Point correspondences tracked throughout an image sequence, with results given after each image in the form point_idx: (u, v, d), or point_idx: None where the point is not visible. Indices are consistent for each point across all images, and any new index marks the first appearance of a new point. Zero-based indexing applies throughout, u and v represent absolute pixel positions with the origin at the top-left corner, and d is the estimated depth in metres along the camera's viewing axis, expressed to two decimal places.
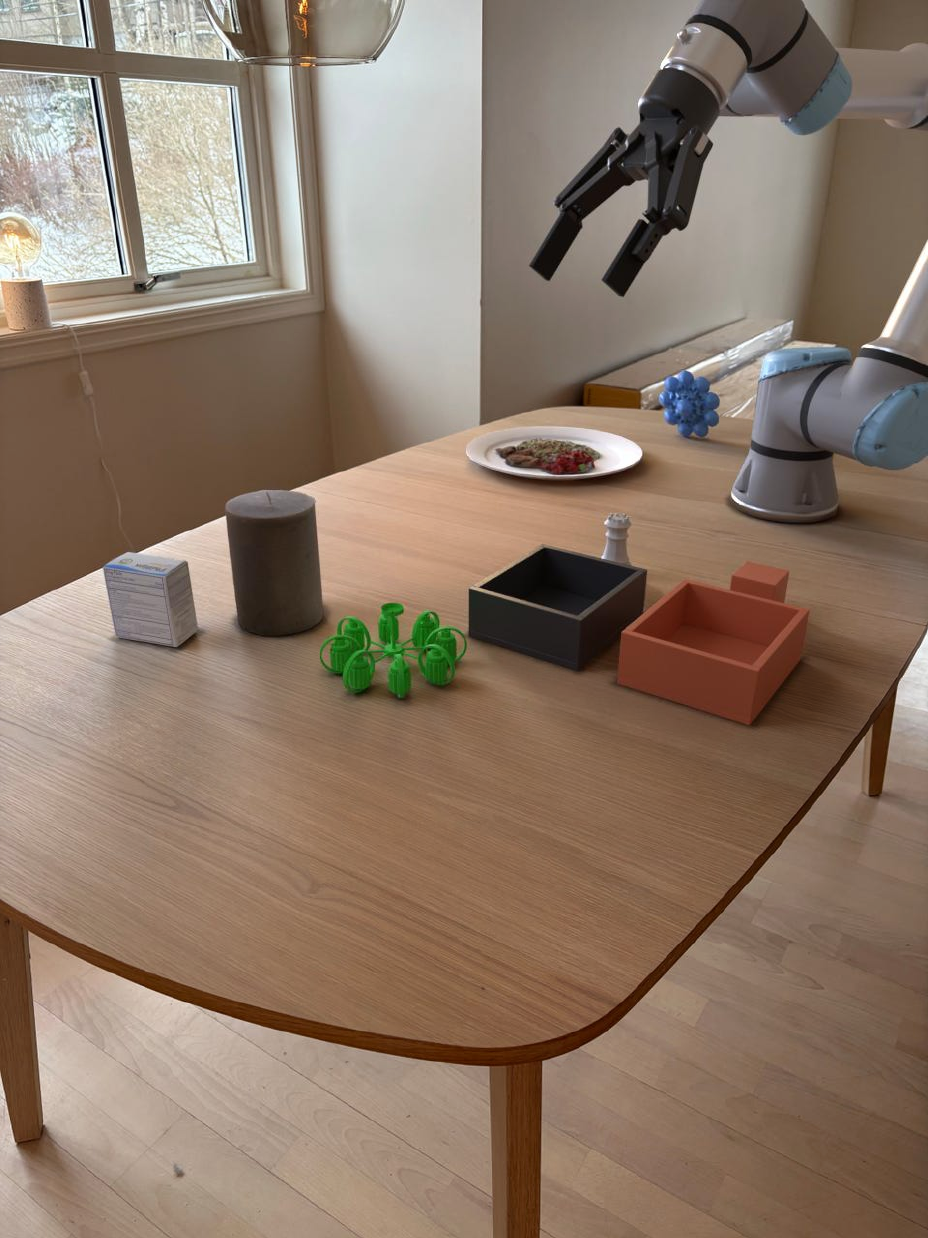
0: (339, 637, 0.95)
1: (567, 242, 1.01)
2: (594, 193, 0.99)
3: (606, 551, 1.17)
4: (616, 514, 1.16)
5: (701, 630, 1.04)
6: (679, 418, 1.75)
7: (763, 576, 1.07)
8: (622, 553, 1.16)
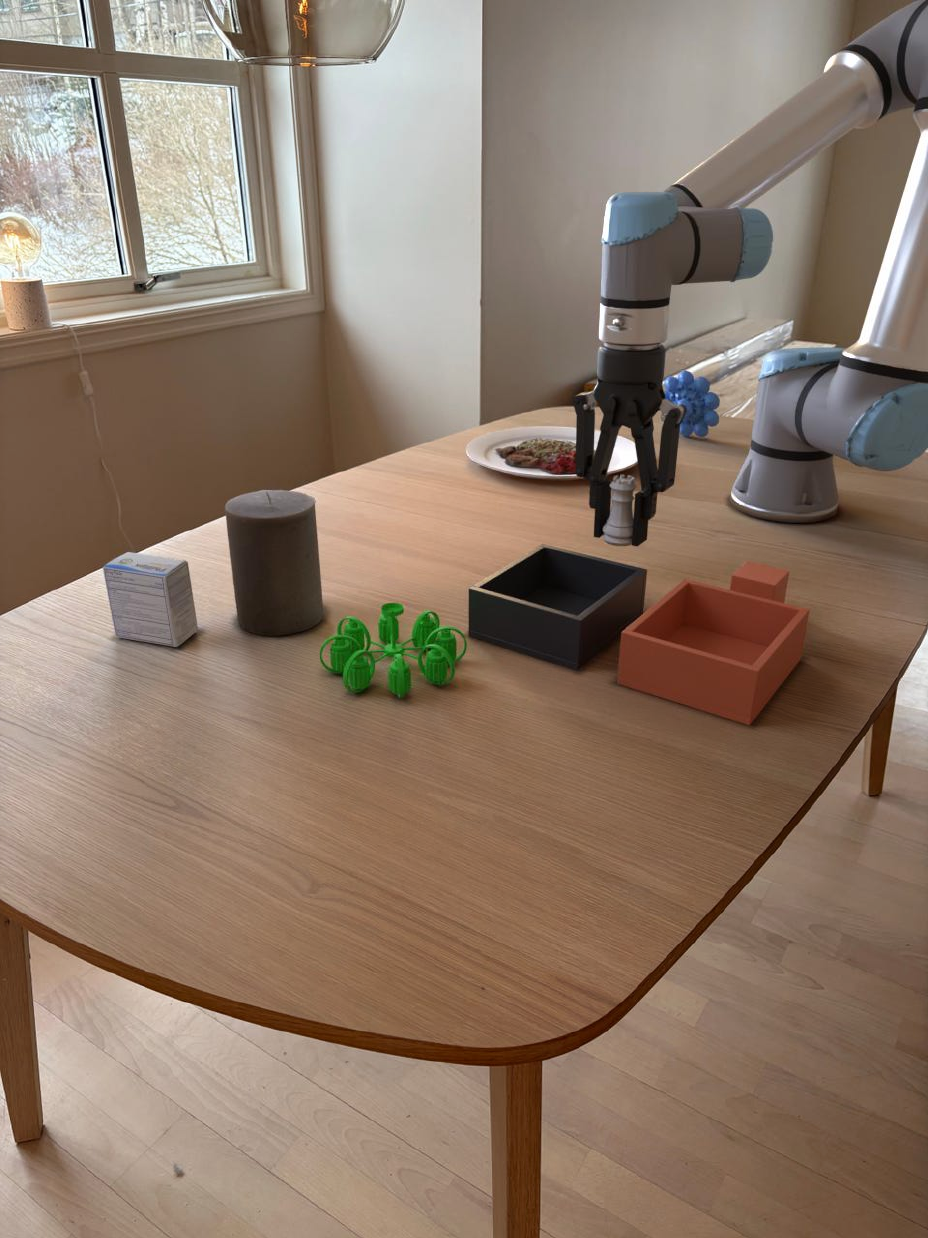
0: (339, 637, 0.95)
1: (608, 499, 1.16)
2: (607, 453, 1.13)
3: (611, 514, 1.15)
4: (621, 476, 1.14)
5: (701, 630, 1.04)
6: None
7: (763, 576, 1.07)
8: (627, 516, 1.14)
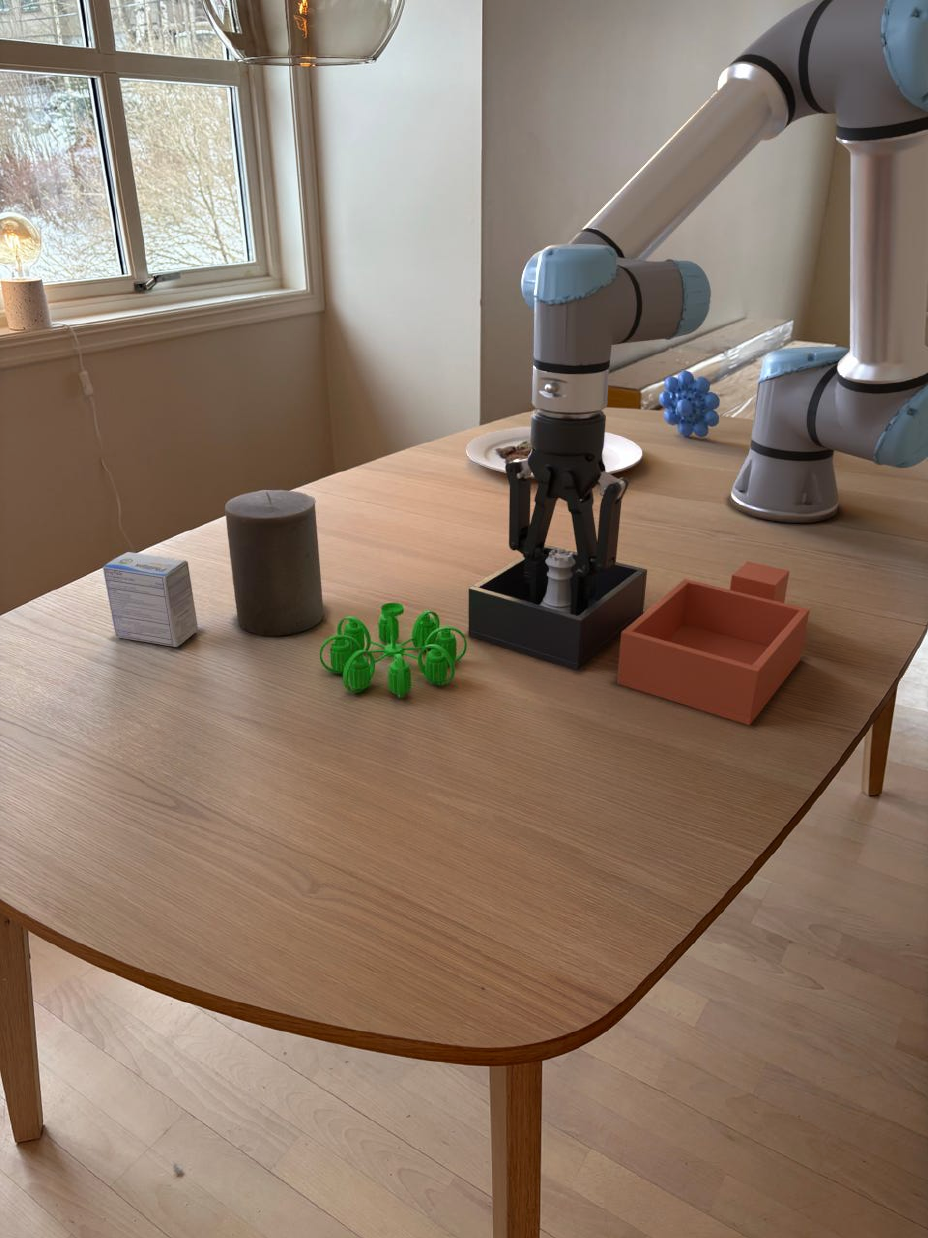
0: (339, 637, 0.95)
1: (545, 575, 1.06)
2: (543, 526, 1.02)
3: (548, 592, 1.04)
4: (559, 551, 1.03)
5: (701, 630, 1.04)
6: (679, 418, 1.75)
7: (763, 576, 1.07)
8: (565, 595, 1.03)
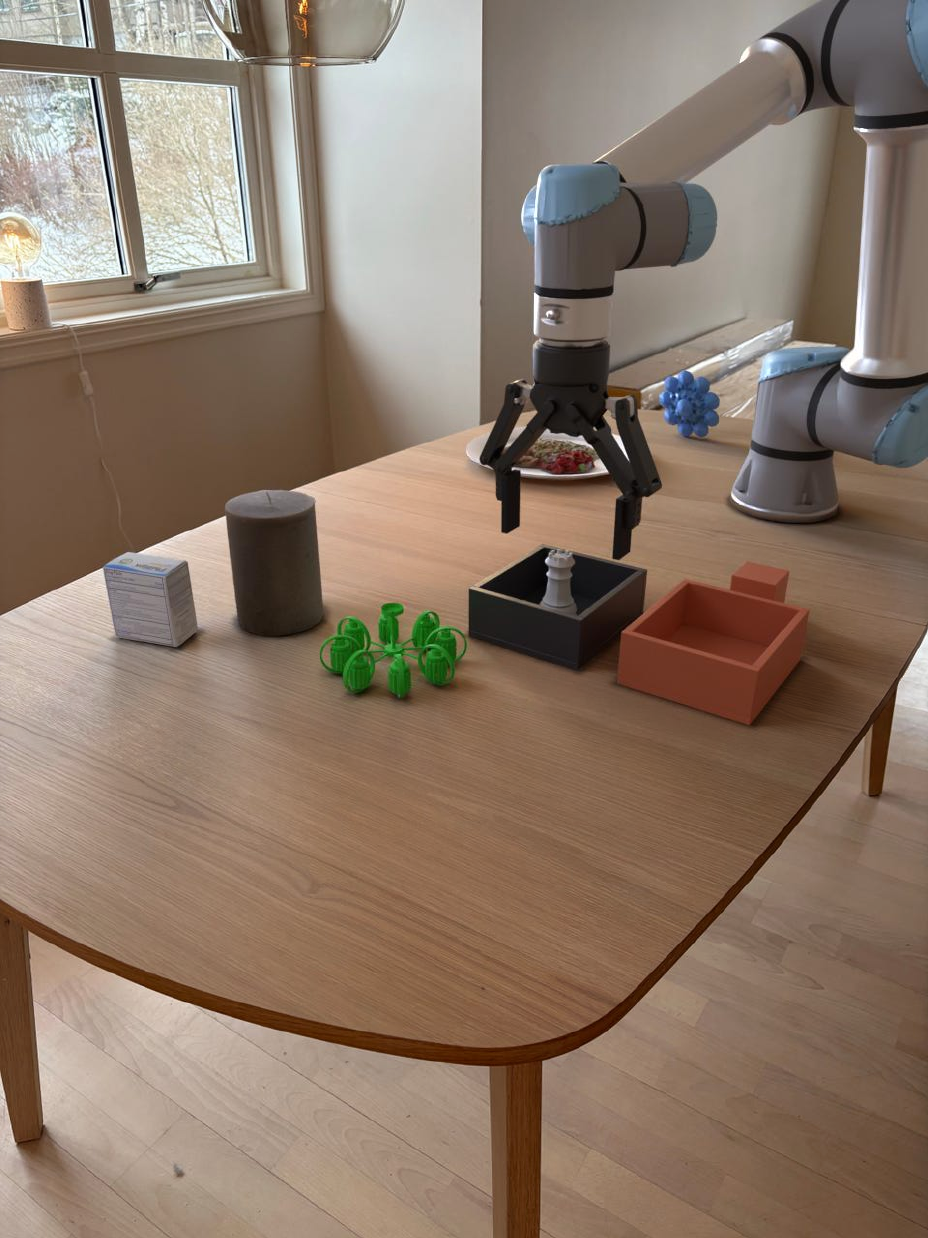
0: (339, 637, 0.95)
1: (517, 491, 1.04)
2: (524, 449, 1.00)
3: (547, 592, 1.04)
4: (558, 551, 1.03)
5: (701, 630, 1.04)
6: (679, 418, 1.75)
7: (763, 576, 1.07)
8: (564, 595, 1.03)
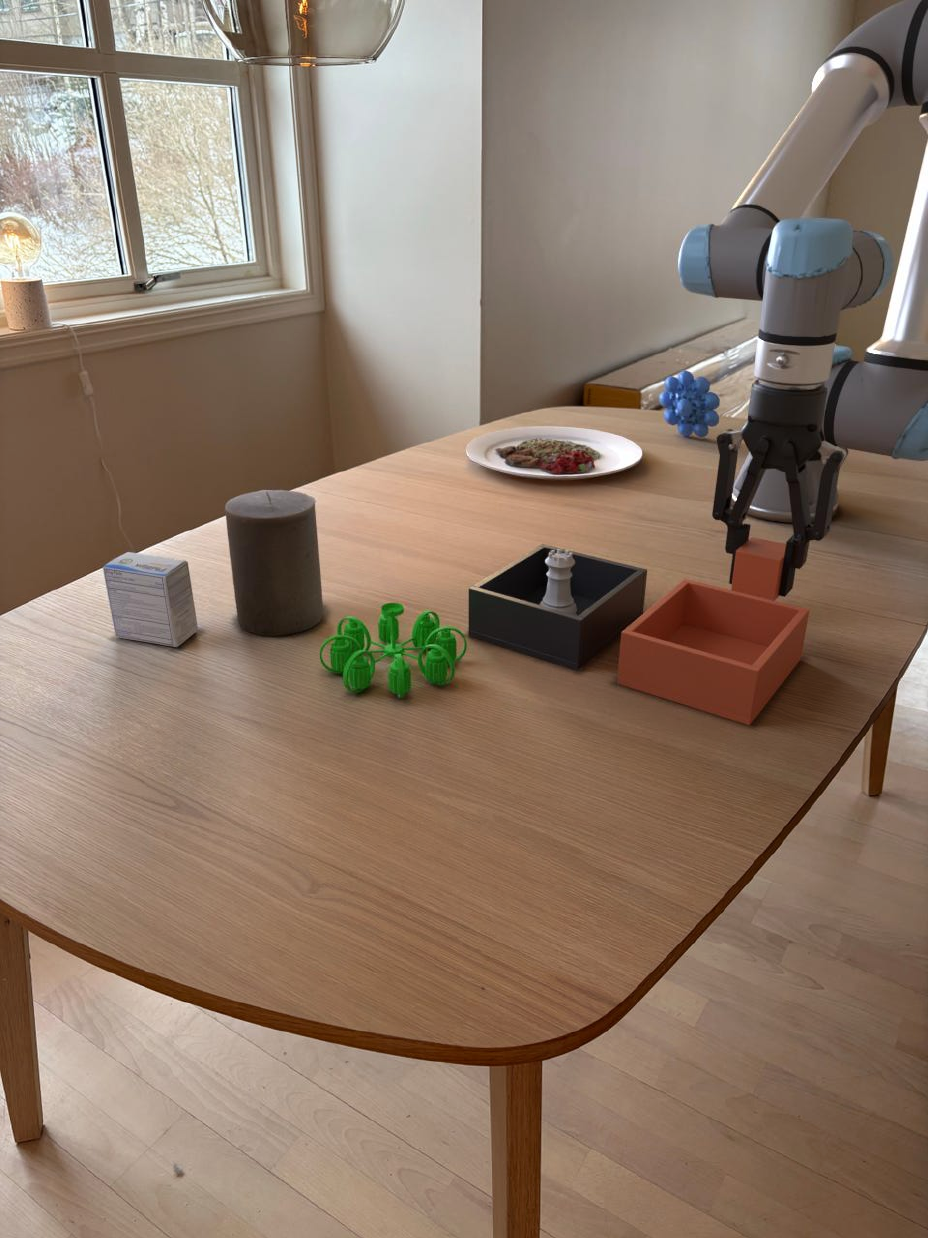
0: (339, 637, 0.95)
1: None
2: (751, 496, 1.05)
3: (547, 592, 1.04)
4: (558, 551, 1.03)
5: (701, 630, 1.04)
6: (679, 418, 1.75)
7: (768, 551, 1.05)
8: (564, 595, 1.03)
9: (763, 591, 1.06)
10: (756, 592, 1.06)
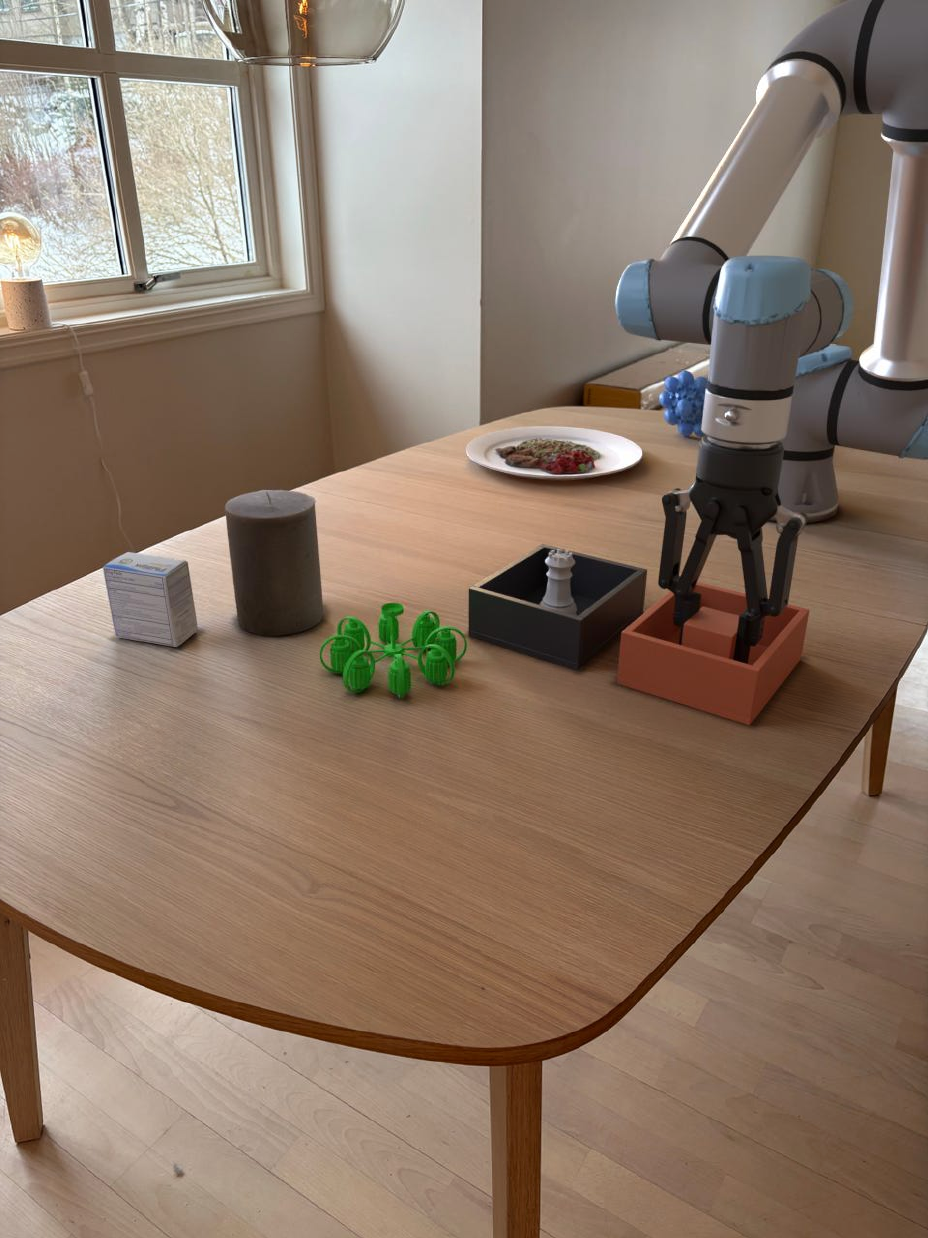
0: (339, 637, 0.95)
1: None
2: (701, 564, 0.93)
3: (547, 592, 1.04)
4: (558, 551, 1.03)
5: None
6: (679, 418, 1.75)
7: (719, 625, 0.94)
8: (564, 595, 1.03)
9: None
10: None
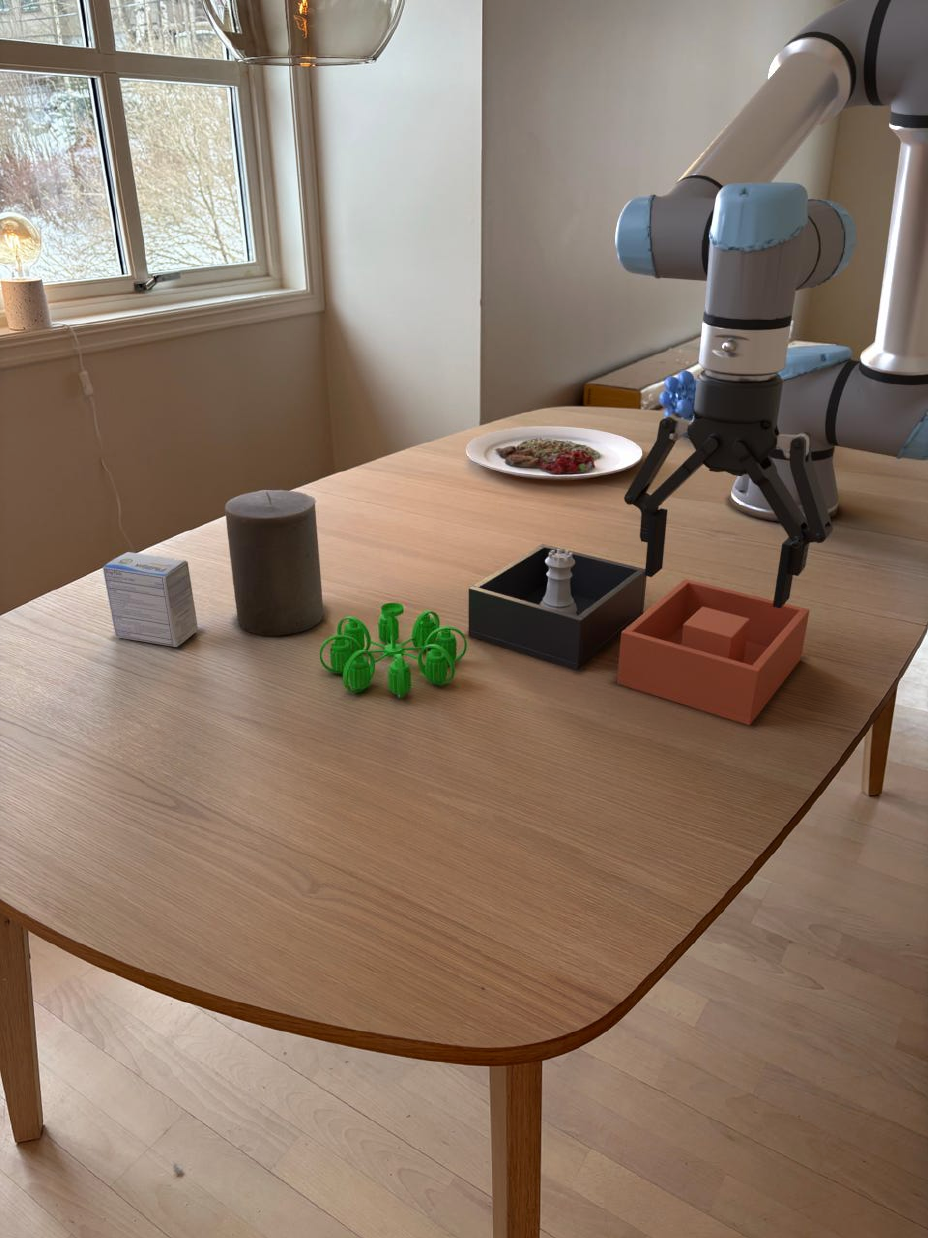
0: (339, 637, 0.95)
1: (663, 531, 0.97)
2: (676, 488, 0.93)
3: (547, 592, 1.04)
4: (558, 551, 1.03)
5: None
6: None
7: (719, 625, 0.94)
8: (564, 595, 1.03)
9: None
10: None
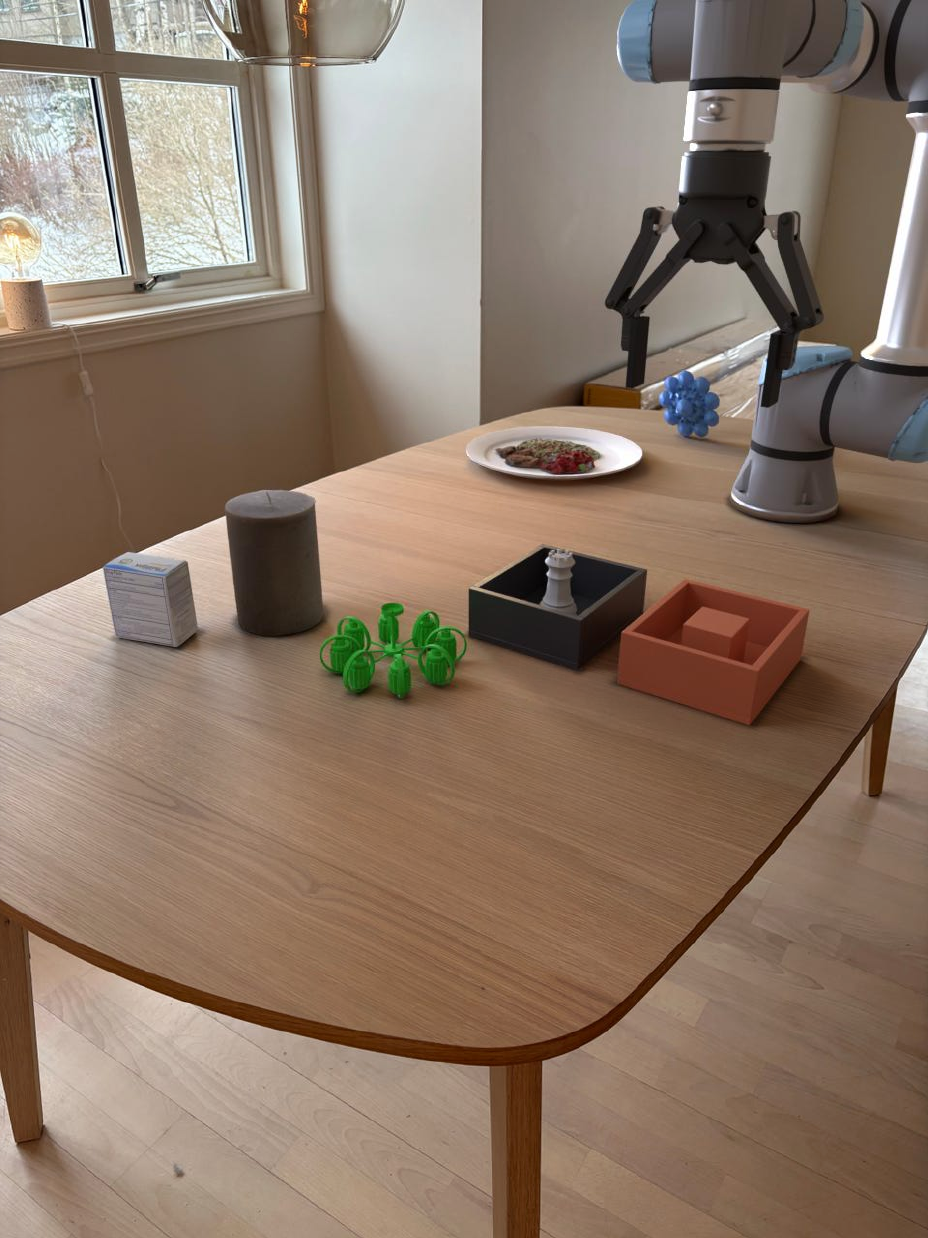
0: (339, 637, 0.95)
1: (645, 340, 0.93)
2: (659, 287, 0.90)
3: (547, 592, 1.04)
4: (558, 551, 1.03)
5: None
6: (679, 418, 1.75)
7: (719, 625, 0.94)
8: (564, 595, 1.03)
9: None
10: None
